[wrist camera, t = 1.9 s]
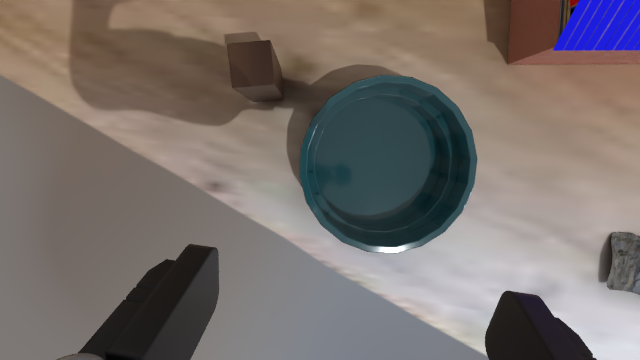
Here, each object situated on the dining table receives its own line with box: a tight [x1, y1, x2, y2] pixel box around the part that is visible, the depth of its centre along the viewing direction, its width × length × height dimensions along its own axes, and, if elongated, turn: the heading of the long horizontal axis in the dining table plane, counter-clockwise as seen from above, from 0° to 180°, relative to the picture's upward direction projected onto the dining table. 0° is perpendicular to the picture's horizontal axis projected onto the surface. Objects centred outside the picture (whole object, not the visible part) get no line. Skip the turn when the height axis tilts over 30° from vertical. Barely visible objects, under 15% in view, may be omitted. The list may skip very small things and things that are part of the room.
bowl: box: [299, 75, 477, 253], centre depth 31 cm, size 15×15×6 cm
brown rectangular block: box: [227, 40, 284, 102], centre depth 28 cm, size 3×3×9 cm
